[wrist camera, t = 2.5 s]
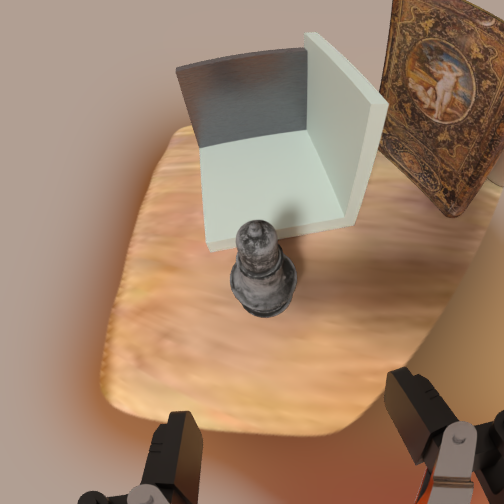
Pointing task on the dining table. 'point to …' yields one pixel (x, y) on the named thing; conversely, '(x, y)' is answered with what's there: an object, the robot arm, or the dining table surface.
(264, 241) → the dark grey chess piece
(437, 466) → the robot arm
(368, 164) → the shelf
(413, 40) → the book
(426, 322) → the dining table surface
